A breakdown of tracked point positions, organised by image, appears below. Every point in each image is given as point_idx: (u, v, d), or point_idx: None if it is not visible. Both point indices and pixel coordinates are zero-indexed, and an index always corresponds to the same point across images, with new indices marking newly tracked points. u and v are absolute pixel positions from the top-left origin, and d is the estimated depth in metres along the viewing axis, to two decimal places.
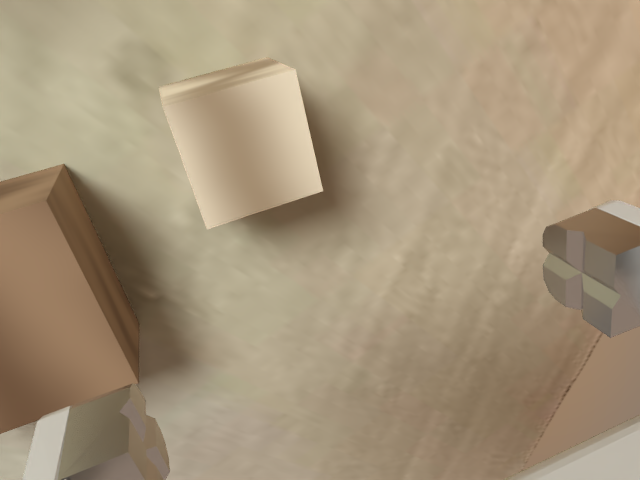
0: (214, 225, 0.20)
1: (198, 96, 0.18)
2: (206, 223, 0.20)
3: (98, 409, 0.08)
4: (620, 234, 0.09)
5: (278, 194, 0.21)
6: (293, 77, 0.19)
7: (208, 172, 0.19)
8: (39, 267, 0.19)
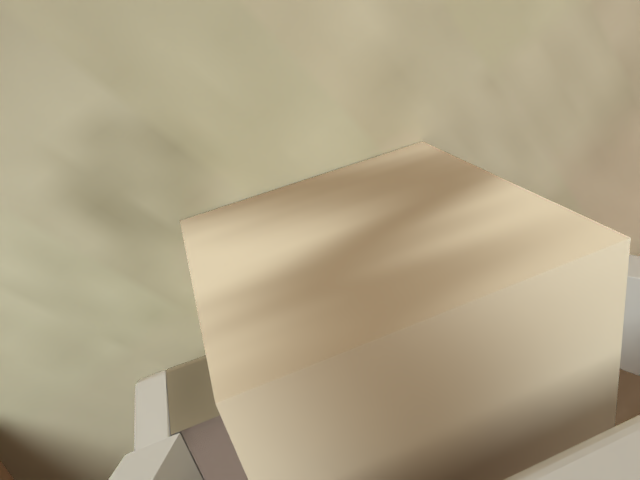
0: None
1: (334, 348, 0.05)
2: None
3: (195, 372, 0.08)
4: None
5: None
6: (619, 260, 0.06)
7: None
8: None
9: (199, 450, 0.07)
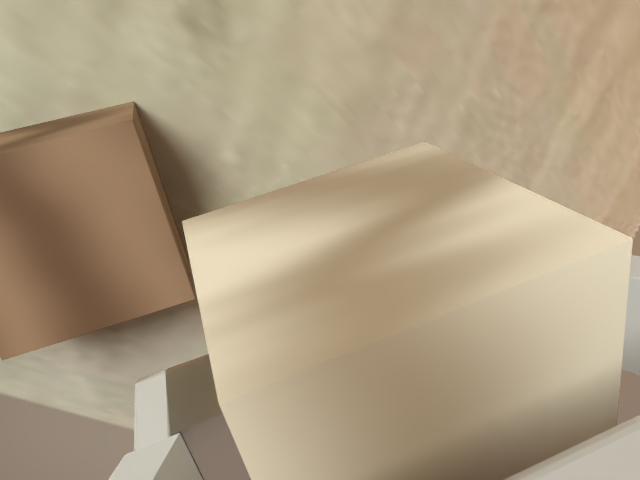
0: None
1: (337, 349, 0.05)
2: None
3: (195, 372, 0.08)
4: None
5: None
6: (621, 261, 0.06)
7: None
8: (121, 182, 0.22)
9: (199, 450, 0.07)
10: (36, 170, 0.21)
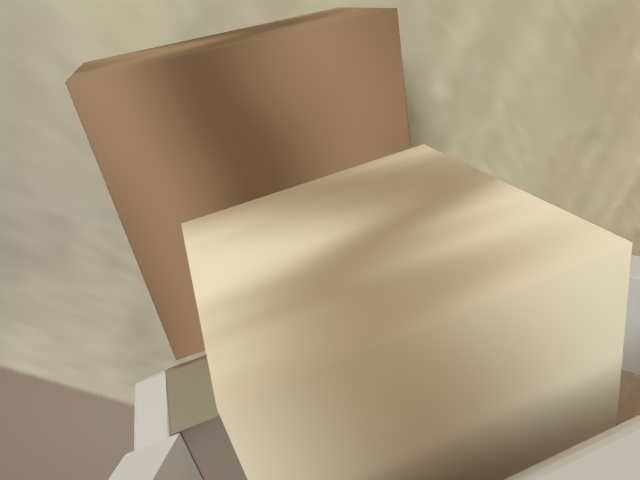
0: None
1: (336, 354, 0.05)
2: None
3: (195, 372, 0.08)
4: None
5: None
6: (621, 265, 0.06)
7: None
8: (366, 102, 0.15)
9: (199, 450, 0.07)
10: (262, 77, 0.14)
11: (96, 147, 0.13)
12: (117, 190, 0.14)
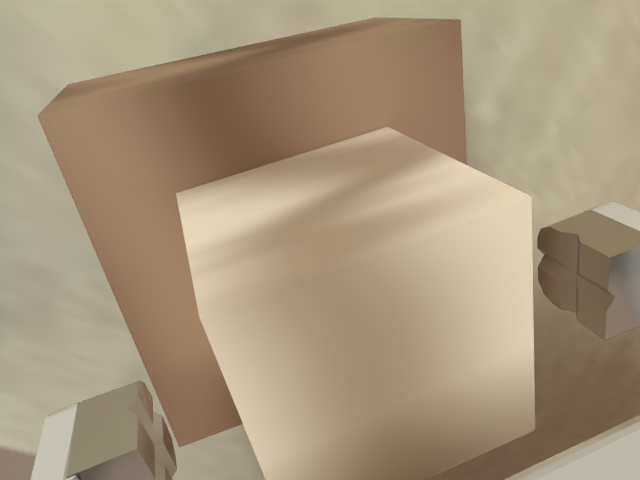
0: None
1: (292, 279, 0.07)
2: None
3: (106, 406, 0.08)
4: (614, 236, 0.09)
5: (448, 452, 0.09)
6: (523, 215, 0.07)
7: (302, 439, 0.08)
8: (417, 136, 0.12)
9: None
10: (292, 106, 0.11)
11: (79, 197, 0.10)
12: (106, 250, 0.11)
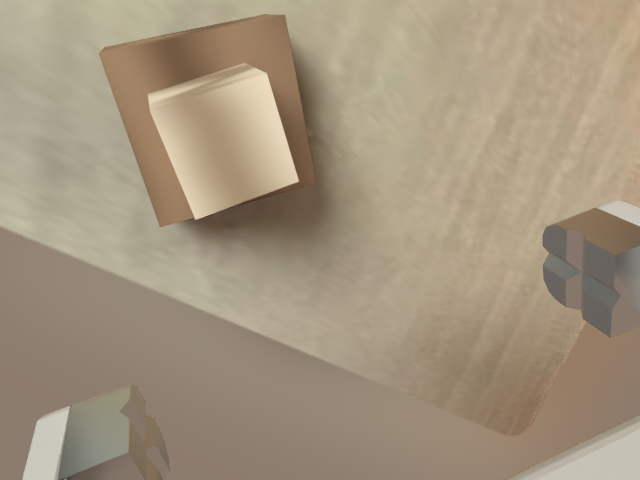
0: (202, 216, 0.23)
1: (181, 101, 0.21)
2: (194, 214, 0.23)
3: (98, 409, 0.08)
4: (620, 234, 0.09)
5: (258, 185, 0.23)
6: (265, 80, 0.21)
7: (193, 168, 0.22)
8: (270, 69, 0.26)
9: None
10: (207, 53, 0.25)
11: (114, 90, 0.24)
12: (126, 116, 0.25)
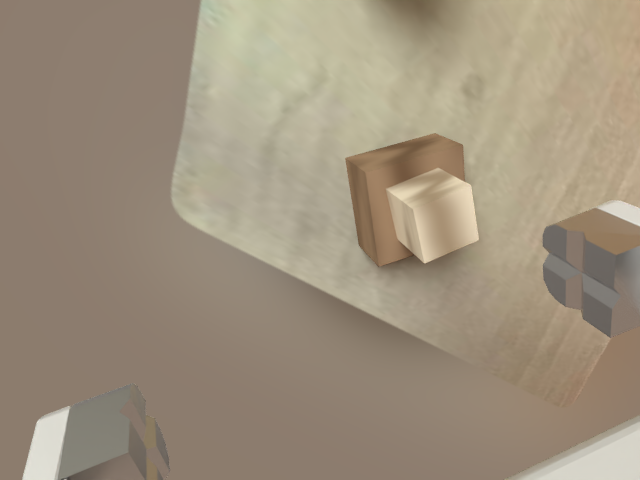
0: (427, 261, 0.41)
1: (427, 202, 0.38)
2: (424, 260, 0.40)
3: (98, 409, 0.08)
4: (620, 233, 0.09)
5: (458, 243, 0.41)
6: (469, 188, 0.39)
7: (428, 236, 0.40)
8: (451, 174, 0.44)
9: None
10: (419, 168, 0.43)
11: (369, 191, 0.42)
12: (372, 205, 0.43)
